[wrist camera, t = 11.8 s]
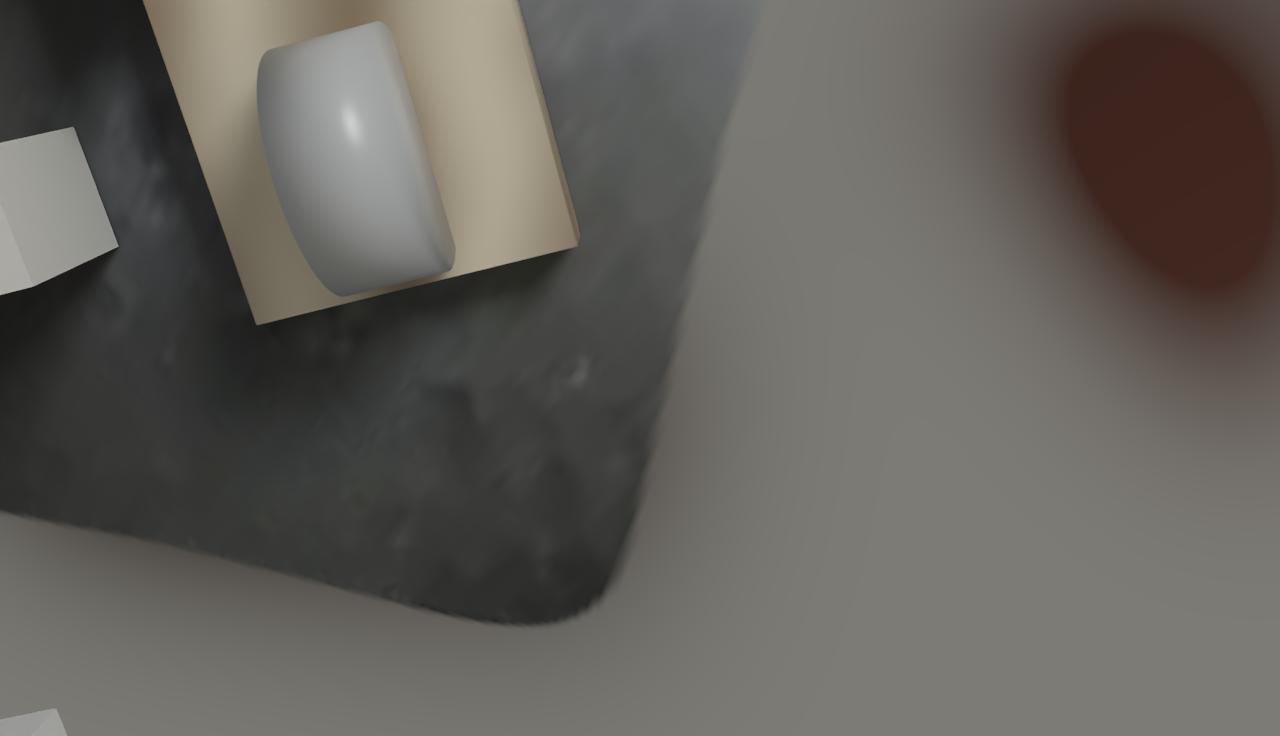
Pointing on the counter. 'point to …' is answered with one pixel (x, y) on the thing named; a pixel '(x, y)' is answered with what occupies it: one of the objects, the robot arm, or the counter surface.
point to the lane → (447, 114)
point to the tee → (48, 210)
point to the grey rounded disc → (352, 161)
